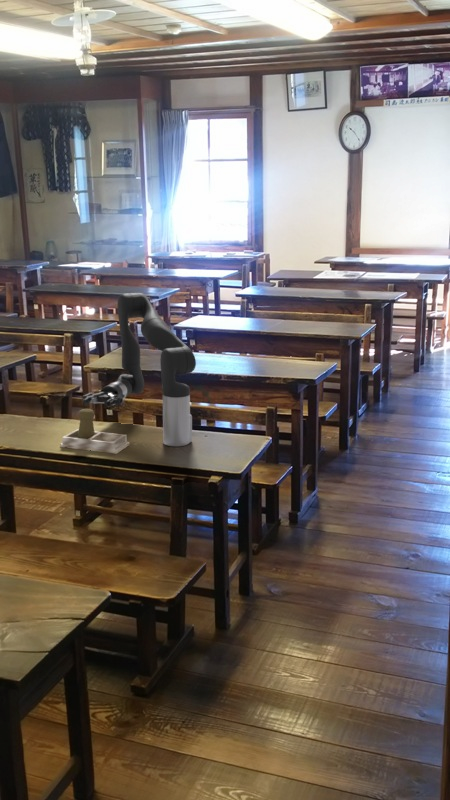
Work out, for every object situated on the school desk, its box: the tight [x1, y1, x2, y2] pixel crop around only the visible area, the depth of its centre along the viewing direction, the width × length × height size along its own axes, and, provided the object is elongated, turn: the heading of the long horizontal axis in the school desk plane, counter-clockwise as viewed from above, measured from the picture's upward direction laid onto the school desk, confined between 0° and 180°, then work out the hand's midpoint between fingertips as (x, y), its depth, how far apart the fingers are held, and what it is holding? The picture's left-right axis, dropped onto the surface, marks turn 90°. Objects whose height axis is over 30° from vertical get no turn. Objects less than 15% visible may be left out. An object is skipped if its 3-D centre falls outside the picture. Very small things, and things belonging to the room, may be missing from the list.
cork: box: [78, 408, 95, 439], centre depth 268 cm, size 6×6×11 cm
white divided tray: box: [59, 428, 130, 455], centre depth 267 cm, size 21×10×4 cm, turn 72°
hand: (95, 403), depth 276 cm, fingers open, 8 cm apart
